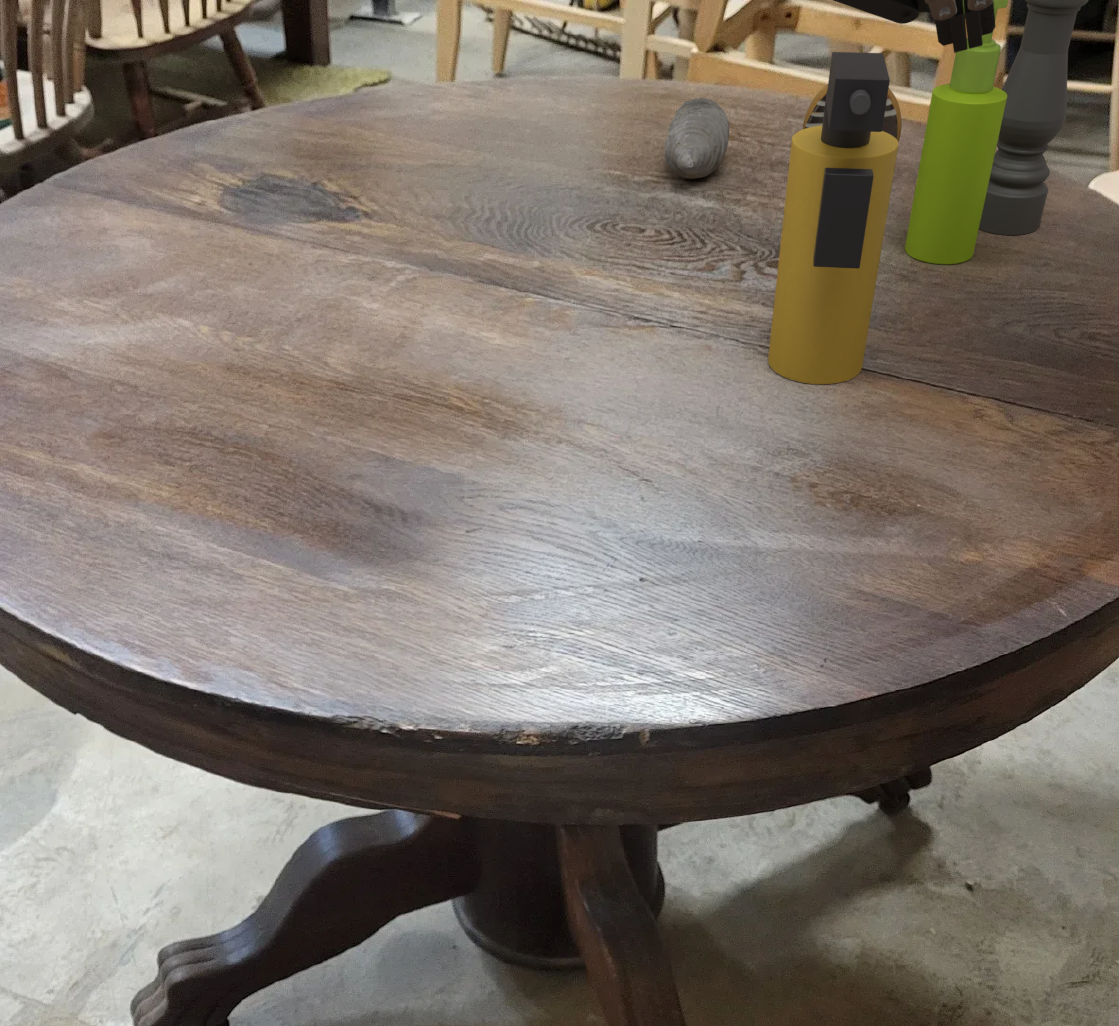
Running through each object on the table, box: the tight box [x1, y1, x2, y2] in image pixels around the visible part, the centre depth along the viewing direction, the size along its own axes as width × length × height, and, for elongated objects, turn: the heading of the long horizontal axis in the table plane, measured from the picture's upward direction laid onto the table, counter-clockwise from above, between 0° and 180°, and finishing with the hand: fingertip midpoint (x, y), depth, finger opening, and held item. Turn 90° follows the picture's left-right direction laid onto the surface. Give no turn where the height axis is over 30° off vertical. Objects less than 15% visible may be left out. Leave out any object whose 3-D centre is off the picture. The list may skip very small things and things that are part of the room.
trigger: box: [813, 168, 874, 268], centre depth 79 cm, size 3×1×6 cm, turn 82°
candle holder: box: [979, 0, 1089, 236], centre depth 105 cm, size 6×6×25 cm
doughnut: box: [802, 83, 903, 143], centre depth 119 cm, size 9×4×10 cm, turn 77°
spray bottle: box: [767, 51, 899, 385], centre depth 83 cm, size 7×11×22 cm, turn 172°
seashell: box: [663, 97, 730, 180], centre depth 122 cm, size 6×14×8 cm, turn 172°
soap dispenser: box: [904, 0, 1009, 265], centre depth 101 cm, size 6×7×20 cm
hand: (966, 32), depth 64 cm, fingers closed
